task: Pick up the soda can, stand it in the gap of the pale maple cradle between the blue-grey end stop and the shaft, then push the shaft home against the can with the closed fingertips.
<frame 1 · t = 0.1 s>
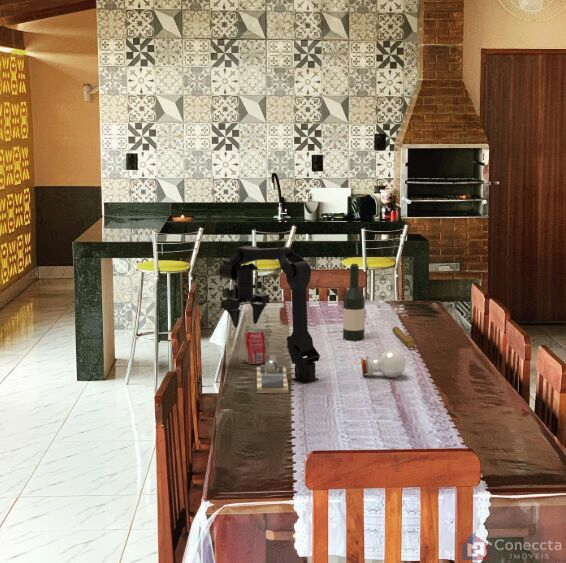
hand: (245, 325, 350), 15 cm above the table, tool pointing down, fingers open, 9 cm apart
tap handle: (403, 342, 390), on the table
soda can: (255, 363, 357), on the table
wine bottle: (353, 339, 394), on the table
shaft: (271, 364, 340), point 4 cm above the table, slide at 0.0 cm
cradle: (271, 381, 332), on the table
potion bottle: (383, 377, 338), on the table
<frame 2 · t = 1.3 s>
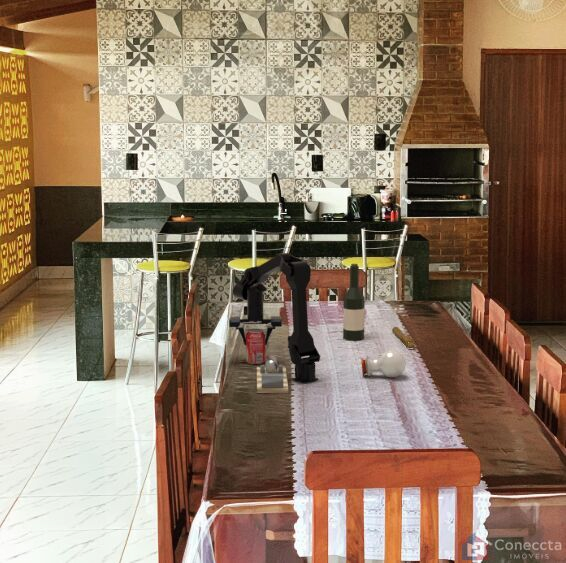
hand: (255, 345, 356), 7 cm above the table, tool pointing down, fingers closed on soda can, 7 cm apart
soda can: (255, 363, 357), on the table, touching gripper
everything else where it was.
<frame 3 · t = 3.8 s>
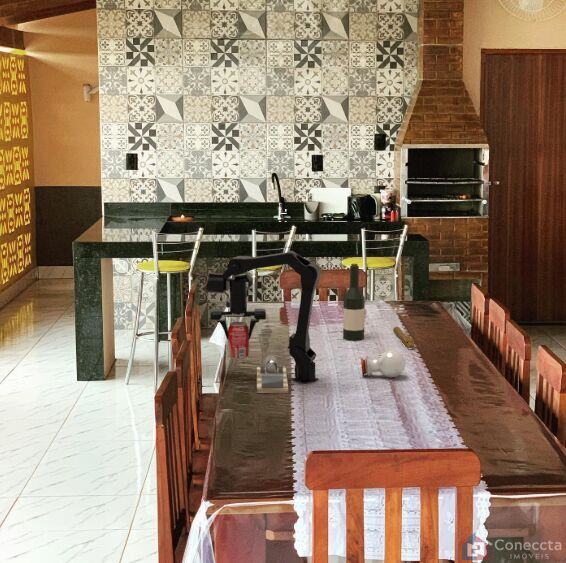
hand: (238, 339, 337), 13 cm above the table, tool pointing down, fingers closed on soda can, 7 cm apart
soda can: (238, 358, 338), point 6 cm above the table, touching gripper
everything else where it was.
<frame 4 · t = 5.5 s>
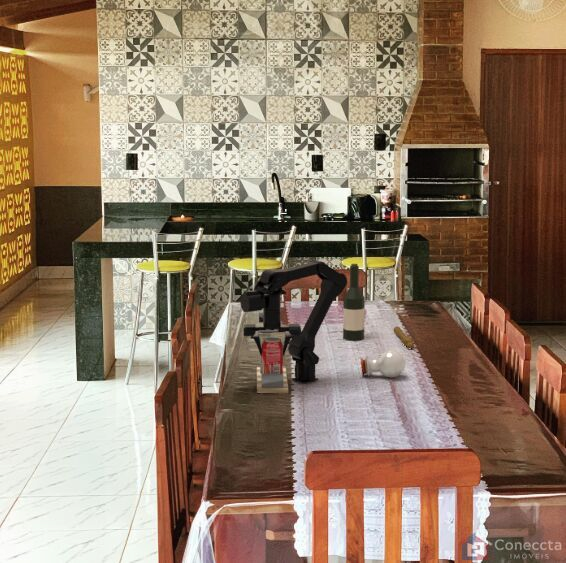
hand: (272, 355, 325), 10 cm above the table, tool pointing down, fingers closed on soda can, 7 cm apart
soda can: (272, 375, 327), point 3 cm above the table, touching gripper
everything else where it was.
when the fingers open (9 cm above the table, at t = 6.2 s): soda can stays where it is, resting on cradle.
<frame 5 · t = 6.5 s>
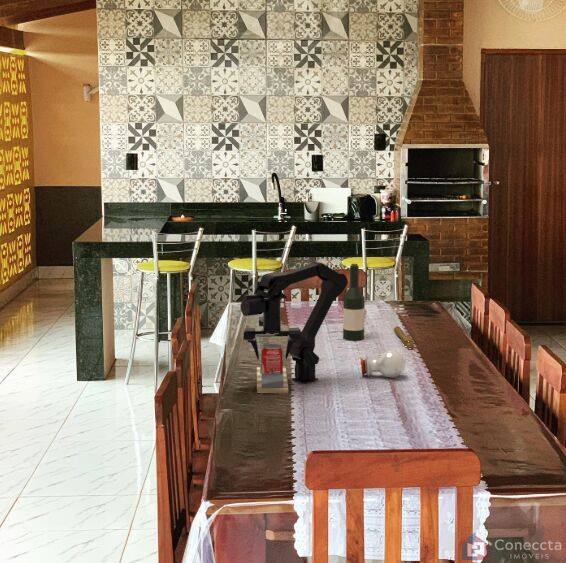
hand: (272, 359, 326), 9 cm above the table, tool pointing down, fingers open, 9 cm apart
soda can: (272, 381, 327), point 1 cm above the table, touching cradle
everything else where it was.
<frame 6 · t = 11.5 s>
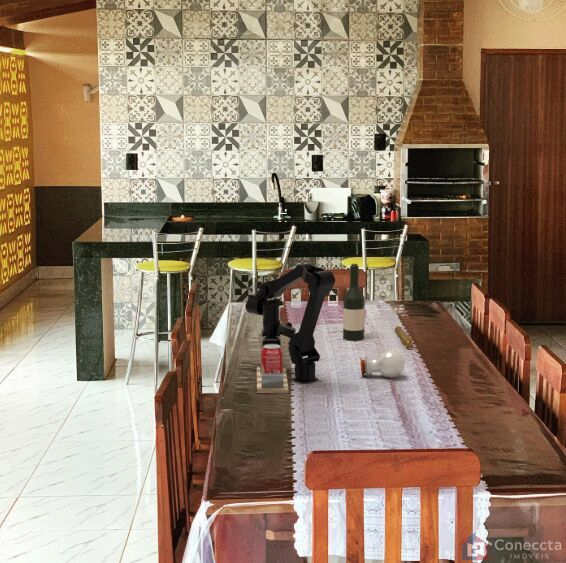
hand: (271, 361, 345), 3 cm above the table, tool pointing down, fingers closed
shaft: (271, 365, 338), point 4 cm above the table, slide at 1.5 cm, touching gripper
everything else where it was.
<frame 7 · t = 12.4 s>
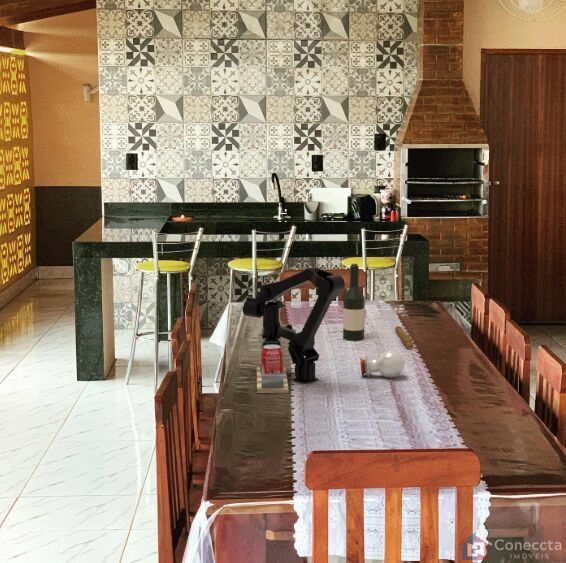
hand: (271, 363, 342), 3 cm above the table, tool pointing down, fingers closed
soda can: (272, 382, 326), point 1 cm above the table, touching cradle, shaft
shaft: (271, 368, 335), point 4 cm above the table, slide at 5.1 cm, touching gripper, soda can
everything else where it was.
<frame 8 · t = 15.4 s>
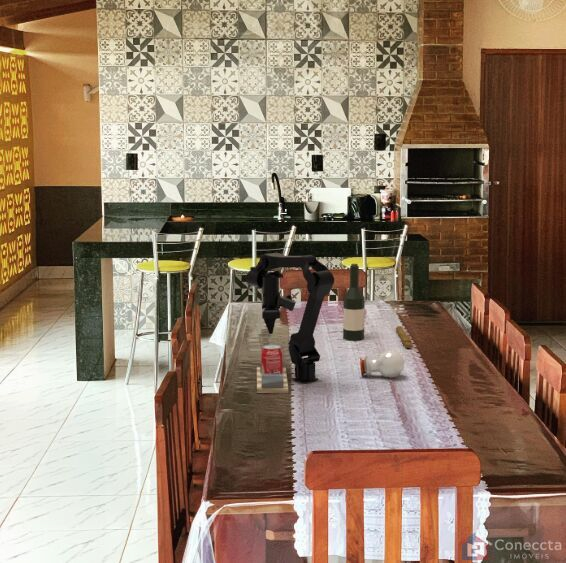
hand: (271, 333, 345), 13 cm above the table, tool pointing down, fingers closed
soda can: (272, 382, 326), point 1 cm above the table, touching cradle
shaft: (271, 368, 335), point 4 cm above the table, slide at 5.3 cm
at the end: soda can inside the target area on the cradle (0.8 cm from its centre), point 1.3 cm above the cradle's base; soda can tilted 0°; shaft slide at 5.3 cm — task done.
